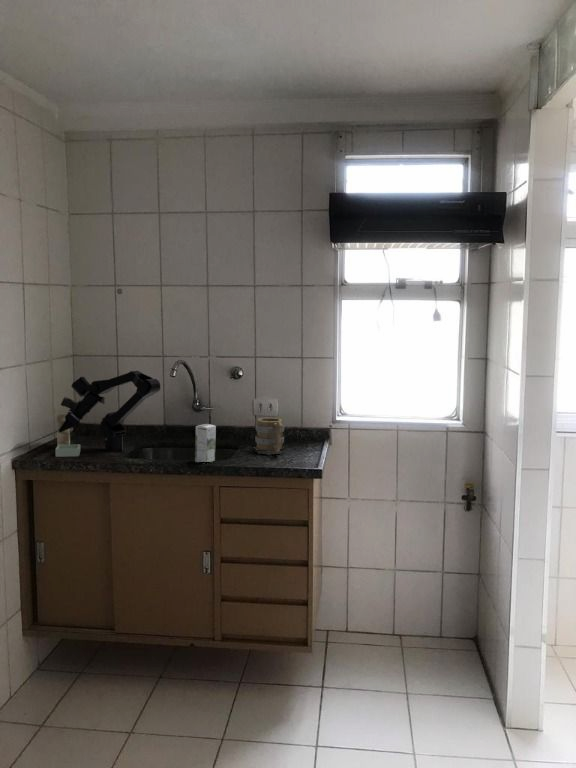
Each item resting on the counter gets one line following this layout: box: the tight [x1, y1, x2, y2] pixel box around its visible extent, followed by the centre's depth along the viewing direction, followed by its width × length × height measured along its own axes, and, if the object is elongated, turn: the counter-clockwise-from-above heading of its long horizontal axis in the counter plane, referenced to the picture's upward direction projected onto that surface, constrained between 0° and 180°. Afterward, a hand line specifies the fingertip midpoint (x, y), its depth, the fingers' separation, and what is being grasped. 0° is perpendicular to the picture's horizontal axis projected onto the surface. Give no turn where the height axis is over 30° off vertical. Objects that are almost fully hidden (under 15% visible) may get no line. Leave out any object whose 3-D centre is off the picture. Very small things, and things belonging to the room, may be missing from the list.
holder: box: [55, 443, 81, 458], centre depth 263 cm, size 9×9×3 cm
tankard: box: [253, 417, 285, 452], centre depth 273 cm, size 20×13×15 cm, turn 18°
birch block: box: [56, 414, 71, 446], centre depth 273 cm, size 4×4×13 cm
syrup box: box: [194, 423, 217, 463], centre depth 255 cm, size 6×6×14 cm
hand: (59, 430), depth 273 cm, fingers closed on birch block, 4 cm apart
